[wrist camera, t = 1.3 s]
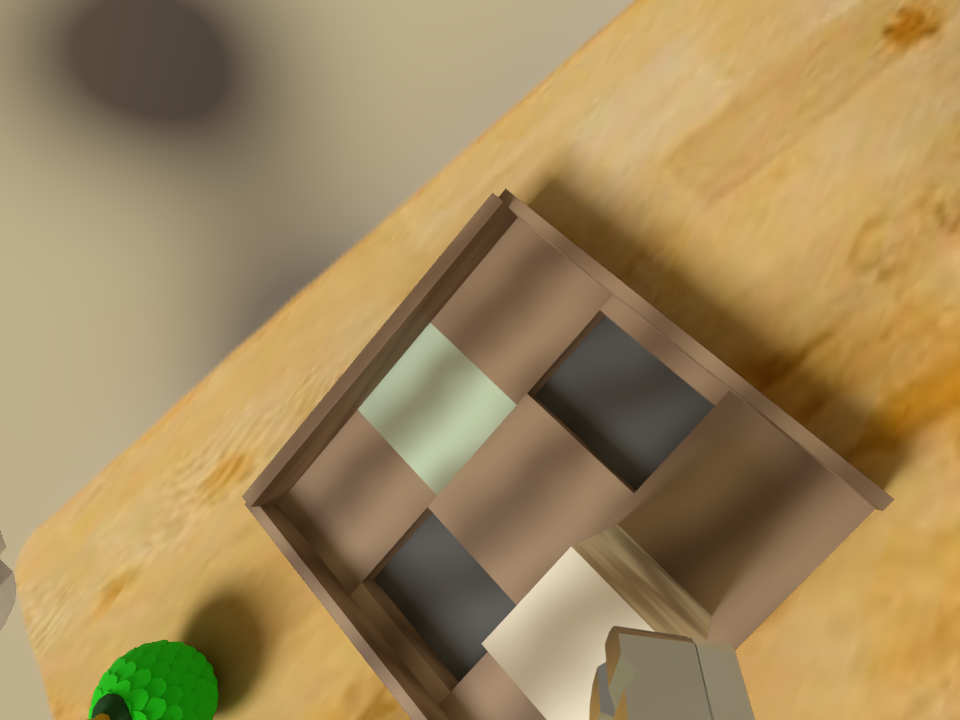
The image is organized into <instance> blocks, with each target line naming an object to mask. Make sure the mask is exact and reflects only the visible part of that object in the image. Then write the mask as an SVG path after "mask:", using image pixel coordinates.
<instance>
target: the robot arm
mask: <svg viewBox="0 0 960 720" xmlns="http://www.w3.org/2000/svg"><path fill="white" fill-rule="evenodd" d="M5 548H6V546H5V543H4V540H3V537H2V535H1V531H0V554H1V553H2V551H4V549H5ZM15 596H16V582H15V578H14V574H13V571H11V570H10V569H9V568H8V567H7V566H6V565H5V564H4V563H3V562H2V561H1V560H0V630H1V629H2V627H3V626H4V625H5V623H6V621H7V619H8V616H9V614H10V612H11V610H12V607H13V605H14V603H15ZM605 653H606V662H605V663H603V664H601V665H600V666H598V667H597V670H596V674H595V677H594V681H593V684H592V691H591V699H590V708H589V720H755V717H754V714H753V710H752V707H751V703H750V700H749V697H748V693H747V690H746V686H745V683H744V679H743V676H742V672H741V669H740V666H739V662H738V659H737V655H736V652H735V650H734V649H733V648H732V646H731V645H730V644H728V643H721V642H715V641H709V640H703V639H696V638H688V637H687V636H680V635H674V634H667V633H660V632H653V631H647V630H640V629H633V628H627V627H620V626H613V627H612V629H611V630H610V631H609V634H608V637H607V639H606V642H605Z"/></svg>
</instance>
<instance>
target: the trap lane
mask: <svg viewBox="0 0 960 720" xmlns="http://www.w3.org/2000/svg"><path fill="white" fill-rule="evenodd" d="M242 497H243V499H244V500H245V501H246V503H245V505H246V507H247V508H248V509H249V511H250V512H251V513H252V514H253V516H254V517H255V518H256V520H257V521H258V522H259V523H260V525H261V526H262V527H263V529H264V530H265V531H266V532H267V534H268V535H269V536H270V538H271V539H272V540H273V541H274V543H275V544H276V545H277V547H278V548H279V549H280V550H281V552H282V553H283V554H284V556H285V557H286V558H287V560H288V561H289V562H290V563H291V565H292V566H293V567H294V569H295V570H296V571H297V572H298V574H299V575H300V576H301V578H302V579H303V580H304V581H305V583H306V584H307V585H308V587H309V588H310V589H311V590H312V592H313V593H314V594H315V596H316V597H317V598H318V600H319V601H320V602H321V603H322V605H323V606H324V607H325V609H326V610H327V611H328V612H329V614H330V615H331V616H332V618H333V619H334V620H335V621H336V623H337V624H338V625H339V627H340V628H341V629H342V630H343V632H344V633H345V634H346V636H347V637H348V638H349V640H350V641H351V642H352V643H353V645H354V646H355V647H356V649H357V650H358V651H359V652H360V654H361V655H362V656H363V658H364V659H365V660H366V661H367V663H368V664H369V665H370V667H371V668H372V669H373V670H374V672H375V673H376V674H377V676H378V677H379V678H380V679H381V681H382V682H383V683H384V685H385V686H386V687H387V689H388V690H389V691H390V692H391V694H392V695H393V696H394V698H395V699H396V700H397V701H398V703H399V704H400V705H401V707H402V708H403V709H404V710H405V712H406V713H407V714H408V716H409V717H410V718H411V719H412V720H547V719H546V718H545V717H544V716H543V715H542V714H541V712H540V711H539V710H538V709H537V708H536V707H535V706H534V704H533V703H532V702H531V701H530V700H529V699H528V697H527V696H526V695H525V694H524V693H523V692H522V690H521V689H520V688H519V687H518V686H517V685H516V683H515V682H514V681H513V680H512V679H511V678H510V676H509V675H508V674H507V673H506V672H505V671H504V669H503V668H502V667H501V666H500V665H499V664H498V662H497V661H496V660H495V659H494V658H493V657H492V656H491V654H490V653H489V652H488V651H487V650H486V649H485V647H484V646H483V645H482V643H483V642H484V640H485V639H486V638H487V637H488V636H489V635H490V634H491V633H492V632H493V631H494V630H495V629H496V627H497V626H498V625H499V624H500V623H501V622H502V621H503V620H504V619H505V618H506V617H507V616H508V614H509V613H510V612H511V611H512V610H513V609H514V608H515V607H516V606H517V605H518V604H519V602H520V601H521V600H522V599H523V598H524V597H525V596H526V595H527V594H528V593H529V592H530V591H531V589H532V588H533V587H534V586H535V585H536V584H537V583H538V582H539V581H540V580H541V579H542V578H543V576H544V575H545V574H546V573H547V572H548V571H549V570H550V569H551V568H552V567H553V566H554V565H555V563H556V562H557V561H558V560H559V559H560V558H561V557H562V556H563V555H564V554H565V553H566V551H567V550H568V549H569V548H570V547H571V546H573V545H575V544H577V543H579V542H581V541H584V540H586V539H588V538H590V537H592V536H594V535H596V534H598V533H600V532H602V531H604V530H607V529H609V528H611V527H613V526H615V525H617V524H618V525H619V526H620V527H621V528H622V529H623V530H624V531H625V532H626V533H627V534H628V535H629V536H630V537H631V538H632V539H633V540H634V541H635V542H636V543H637V544H638V545H639V546H640V547H641V548H642V549H644V550H645V551H646V552H647V553H648V554H649V555H650V556H651V557H652V558H653V559H654V560H655V561H656V562H657V563H658V564H659V565H660V566H661V567H662V568H663V569H664V570H665V571H666V572H667V573H668V574H669V575H670V576H671V577H672V578H673V579H674V580H675V581H676V582H678V583H679V584H680V585H681V586H682V587H683V588H684V589H685V590H686V591H687V592H688V593H689V594H690V595H691V596H692V597H693V598H694V599H695V600H696V601H697V602H698V603H699V604H700V605H701V606H702V607H703V608H704V609H705V610H706V611H707V612H708V613H709V614H711V615H712V618H711V623H710V628H709V633H708V639H707V640H709V641H715V642H721V643H728V644H730V645H731V646H732V648H733V649H734V650H736V649H737V648H738V647H739V646H740V645H741V644H742V643H743V642H744V641H745V640H746V639H747V638H748V637H749V636H750V635H751V634H752V633H753V632H754V631H755V630H756V629H757V628H758V627H759V626H760V625H761V624H762V623H763V622H764V621H765V620H766V619H767V618H768V617H769V616H770V615H771V614H772V613H773V612H774V611H775V610H776V609H777V608H778V607H779V606H780V604H781V603H782V602H783V601H784V600H785V599H786V598H787V597H788V596H789V595H790V594H791V593H792V592H793V591H794V590H795V589H796V588H797V587H798V586H799V585H800V584H801V583H802V582H803V581H804V580H805V579H806V578H807V577H808V576H809V575H810V574H811V573H812V572H813V571H814V570H815V569H816V568H817V567H818V566H819V565H820V564H821V563H822V562H823V561H824V560H825V559H826V558H827V557H828V556H829V555H830V554H831V553H832V552H833V551H834V550H835V549H836V548H837V547H838V546H839V545H840V544H841V543H842V542H843V541H844V540H845V539H846V538H847V537H848V536H849V535H850V534H851V533H852V532H853V531H854V530H855V529H856V528H857V527H858V526H859V525H860V524H861V523H862V522H863V521H864V520H865V519H866V518H867V517H868V516H869V515H870V514H871V513H872V512H873V511H874V510H875V509H878V510H881V511H883V510H884V509H885V508H886V507H887V506H888V505H889V504H890V503H891V502H892V501H893V500H894V499H893V498H892V497H891V496H890V495H888V494H887V493H886V492H885V491H883V490H882V489H881V488H880V487H878V486H877V485H876V484H875V483H873V482H872V481H871V480H870V479H868V478H867V477H866V476H865V475H863V474H862V473H861V472H860V471H858V470H857V469H856V468H855V467H853V466H852V465H851V464H850V463H848V462H847V461H846V460H845V459H843V458H842V457H841V456H840V455H838V454H837V453H836V452H835V451H833V450H832V449H831V448H830V447H828V446H827V445H826V444H825V443H823V442H822V441H821V440H820V439H818V438H817V437H816V436H815V435H813V434H812V433H811V432H810V431H808V430H807V429H806V428H804V427H803V426H802V425H801V424H799V423H798V422H797V421H796V420H794V419H793V418H792V417H791V416H789V415H788V414H787V413H786V412H784V411H783V410H782V409H781V408H779V407H778V406H777V405H776V404H774V403H773V402H772V401H771V400H769V399H768V398H767V397H766V396H764V395H763V394H762V393H761V392H759V391H758V390H757V389H756V388H754V387H753V386H752V385H751V384H749V383H748V382H747V381H746V380H744V379H743V378H742V377H741V376H739V375H738V374H737V373H736V372H734V371H733V370H732V369H731V368H729V367H728V366H727V365H726V364H724V363H723V362H722V361H721V360H719V359H718V358H717V357H716V356H714V355H713V354H712V353H711V352H709V351H708V350H707V349H706V348H704V347H703V346H702V345H701V344H699V343H698V342H697V341H696V340H694V339H693V338H692V337H691V336H689V335H688V334H687V333H686V332H684V331H683V330H682V329H681V328H679V327H678V326H677V325H676V324H674V323H673V322H672V321H671V320H669V319H668V318H667V317H666V316H664V315H663V314H662V313H661V312H659V311H658V310H657V309H656V308H654V307H653V306H652V305H651V304H649V303H648V302H647V301H646V300H644V299H643V298H642V297H641V296H639V295H638V294H637V293H635V292H634V291H633V290H632V289H630V288H629V287H628V286H627V285H625V284H624V283H623V282H622V281H620V280H619V279H618V278H617V277H615V276H614V275H613V274H612V273H610V272H609V271H608V270H607V269H605V268H604V267H603V266H602V265H600V264H599V263H598V262H597V261H595V260H594V259H593V258H592V257H590V256H589V255H588V254H587V253H585V252H584V251H583V250H582V249H580V248H579V247H578V246H577V245H575V244H574V243H573V242H572V241H570V240H569V239H568V238H567V237H565V236H564V235H563V234H562V233H560V232H559V231H558V230H557V229H555V228H554V227H553V226H552V225H550V224H549V223H548V222H547V221H545V220H544V219H543V218H542V217H540V216H539V215H538V214H537V213H535V212H534V211H533V210H532V209H530V208H529V207H528V206H527V205H525V204H524V203H523V202H522V201H520V200H519V199H518V198H517V197H515V196H514V195H513V194H512V193H510V192H509V191H508V190H507V189H505V190H504V191H503V193H502V194H501V195H500V196H499V197H497V196H496V195H495V194H493V193H492V194H491V195H490V196H489V198H488V199H487V200H486V201H485V202H484V204H483V205H482V206H481V207H480V209H479V210H478V211H477V212H476V213H475V215H474V216H473V217H472V218H471V219H470V221H469V222H468V223H467V224H466V225H465V227H464V228H463V229H462V230H461V232H460V233H459V234H458V235H457V236H456V238H455V239H454V240H453V241H452V242H451V244H450V245H449V246H448V247H447V249H446V250H445V251H444V252H443V253H442V255H441V256H440V257H439V258H438V259H437V261H436V262H435V263H434V264H433V266H432V267H431V268H430V269H429V270H428V272H427V273H426V274H425V275H424V276H423V278H422V279H421V280H420V281H419V283H418V284H417V285H416V286H415V287H414V289H413V290H412V291H411V292H410V293H409V295H408V296H407V297H406V298H405V299H404V301H403V302H402V303H401V304H400V306H399V307H398V308H397V309H396V310H395V312H394V313H393V314H392V315H391V316H390V318H389V319H388V320H387V321H386V323H385V324H384V325H383V326H382V327H381V329H380V330H379V331H378V332H377V333H376V335H375V336H374V337H373V338H372V340H371V341H370V342H369V343H368V344H367V346H366V347H365V348H364V349H363V350H362V352H361V353H360V354H359V355H358V356H357V358H356V359H355V360H354V361H353V363H352V364H351V365H350V366H349V367H348V369H347V370H346V371H345V372H344V373H343V375H342V376H341V377H340V378H339V380H338V381H337V382H336V383H335V384H334V386H333V387H332V388H331V389H330V390H329V392H328V393H327V394H326V395H325V397H324V398H323V399H322V400H321V401H320V403H319V404H318V405H317V406H316V407H315V409H314V410H313V411H312V412H311V414H310V415H309V416H308V417H307V418H306V420H305V421H304V422H303V423H302V424H301V426H300V427H299V428H298V429H297V430H296V432H295V433H294V434H293V435H292V437H291V438H290V439H289V440H288V441H287V443H286V444H285V445H284V446H283V447H282V449H281V450H280V451H279V452H278V454H277V455H276V456H275V457H274V458H273V460H272V461H271V462H270V463H269V464H268V466H267V467H266V468H265V469H264V471H263V472H262V473H261V474H260V475H259V477H258V478H257V479H256V480H255V481H254V483H253V484H252V485H251V486H250V487H249V489H248V490H247V491H246V492H245V494H244V495H243V496H242Z"/></svg>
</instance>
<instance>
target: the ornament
mask: <svg viewBox="0 0 960 720" xmlns="http://www.w3.org/2000/svg"><path fill="white" fill-rule="evenodd" d="M213 671H214V669H213V667H212V665H211V664H210V663H209V662H208V661H206V657H205V656H204V655H203V654H202V653H200V652H197V650H196V649H195V648H194V647H191V646H188V645H185V644H184V643H183V642H168V641H167V640H161V641H157V642H152V643H146V644H143V645H141V646H139V647H138V648H136V647H135V648H134V649H132V650H130V651H129V652H128V653H126V654H125V655H124V656H123V657H119V658H118V659H117V660H116V661H115V662H114V663H113V664H112V666H111V667H110V669H108V670H107V672H105V673H104V674H103V676H102V678H101V680H100V682H99V685H98V686H97V687H96V689H95V691H94V694H93V698H92V703H91V707H90V709H89V716H88V717H89V719H88V720H213V719H212V718H213V715H214V713H215V712H216V708H217V705H218V704H217V700H218V694H219V693H218V688H217V683H218V680H217V679H216V677H215V676H214V674H213Z"/></svg>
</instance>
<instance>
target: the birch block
mask: <svg viewBox="0 0 960 720" xmlns="http://www.w3.org/2000/svg"><path fill="white" fill-rule="evenodd" d="M711 618H712V615H711V614H709V613H708V612H707V611H706V610H705V609H704V608H703V607H702V606H701V605H700V604H699V603H698V602H697V601H696V600H695V599H694V598H693V597H692V596H691V595H690V594H689V593H688V592H687V591H686V590H685V589H684V588H683V587H682V586H681V585H680V584H679V583H678V582H676V581H675V580H674V579H673V578H672V577H671V576H670V575H669V574H668V573H667V572H666V571H665V570H664V569H663V568H662V567H661V566H660V565H659V564H658V563H657V562H656V561H655V560H654V559H653V558H652V557H651V556H650V555H649V554H648V553H647V552H646V551H645V550H644V549H642V548H641V547H640V546H639V545H638V544H637V543H636V542H635V541H634V540H633V539H632V538H631V537H630V536H629V535H628V534H627V533H626V532H625V531H624V530H623V529H622V528H621V527H620V526H619V525H618V524H617V525H615V526H613V527H611V528H609V529H607V530H604V531H602V532H600V533H598V534H596V535H594V536H592V537H590V538H588V539H586V540H584V541H581V542H579V543H577V544H575V545H573V546H571V547H570V548H569V549H568V550H567V551H566V553H565V554H564V555H563V556H562V557H561V558H560V559H559V560H558V561H557V562H556V563H555V565H554V566H553V567H552V568H551V569H550V570H549V571H548V572H547V573H546V574H545V575H544V576H543V578H542V579H541V580H540V581H539V582H538V583H537V584H536V585H535V586H534V587H533V588H532V589H531V591H530V592H529V593H528V594H527V595H526V596H525V597H524V598H523V599H522V600H521V601H520V602H519V604H518V605H517V606H516V607H515V608H514V609H513V610H512V611H511V612H510V613H509V614H508V616H507V617H506V618H505V619H504V620H503V621H502V622H501V623H500V624H499V625H498V626H497V627H496V629H495V630H494V631H493V632H492V633H491V634H490V635H489V636H488V637H487V638H486V639H485V640H484V642H483V643H482V645H483V646H484V647H485V649H486V650H487V651H488V652H489V653H490V654H491V656H492V657H493V658H494V659H495V660H496V661H497V662H498V664H499V665H500V666H501V667H502V668H503V669H504V671H505V672H506V673H507V674H508V675H509V676H510V678H511V679H512V680H513V681H514V682H515V683H516V685H517V686H518V687H519V688H520V689H521V690H522V692H523V693H524V694H525V695H526V696H527V697H528V699H529V700H530V701H531V702H532V703H533V704H534V706H535V707H536V708H537V709H538V710H539V711H540V712H541V714H542V715H543V716H544V717H545V718H546V719H547V720H589V708H590V699H591V691H592V684H593V681H594V677H595V674H596V670H597V667H598V666H600V665H601V664H603V663H605V662H606V653H605V642H606V639H607V637H608V634H609V631H610V630H611V629H612V627H613V626H620V627H627V628H633V629H640V630H647V631H653V632H660V633H667V634H674V635H680V636H687V637H688V638H696V639H703V640H707V639H708V633H709V628H710V623H711Z"/></svg>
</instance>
